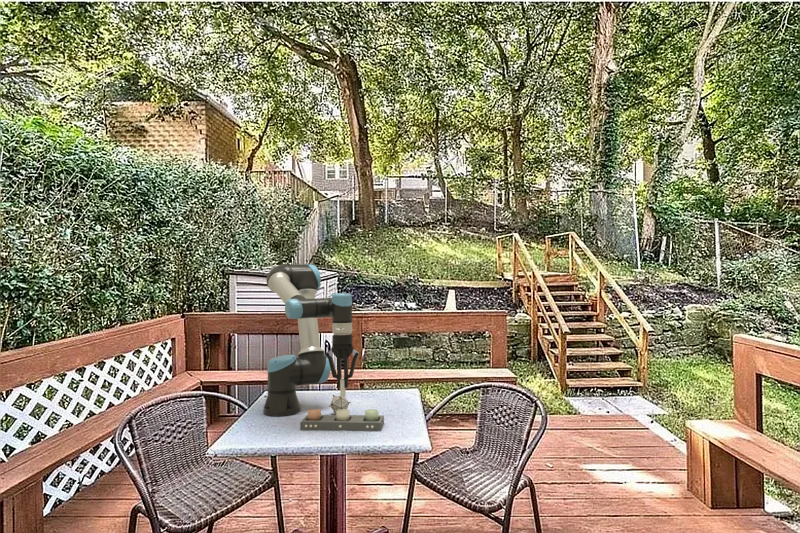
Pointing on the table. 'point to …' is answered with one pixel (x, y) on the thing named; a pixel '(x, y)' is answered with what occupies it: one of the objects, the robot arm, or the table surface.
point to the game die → (339, 403)
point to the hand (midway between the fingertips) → (342, 396)
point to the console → (342, 423)
